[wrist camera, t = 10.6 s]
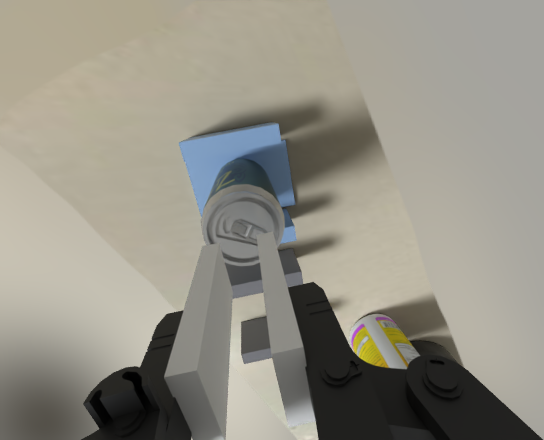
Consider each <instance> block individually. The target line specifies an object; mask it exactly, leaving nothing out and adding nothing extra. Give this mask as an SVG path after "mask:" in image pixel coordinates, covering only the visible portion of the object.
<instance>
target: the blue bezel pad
mask: <svg viewBox="0 0 544 440" xmlns="http://www.w3.org/2000/svg"><path fill="white" fill-rule="evenodd" d="M235 159H249V160H252V161H255V162H256V163H258V164H259V165H261V166H262V167H263V169H264V170H265V171H266V173H267V175H268V177H269V180H270V182H271V184H272V187H273V189H274V191H275V194H276V196H277V198H278V201H279V203H280V205H281V207H286V206H291V205H295V200H294V194H293V187H292V180H291V173H290V167H289V160H288V153H287V146H286V140H281V143H279V144H274V145H268V146H263V147H258V148H253V149H248V150H242V151H237V152H232V153H227V154H222V155H216V156H211V157H206V158H201V159H196V160H190V161H185V163H186V167H187V170H188V173H189V177H190V180H191V183H192V187H193V190H194V194H195V197H196V200H197V204H198V207H199V211H200V214H201V217H202V214H203V209H204V207H205V204H206V202H207V199H208V197H209V194H210V192H211V189H212V187H213V184H214V182H215V179H216V177H217V175H218V173H219V171H220V170H221V168H222V167H223V166H224V165H226V164H227V163H228V162H230V161H233V160H235Z"/></svg>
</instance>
